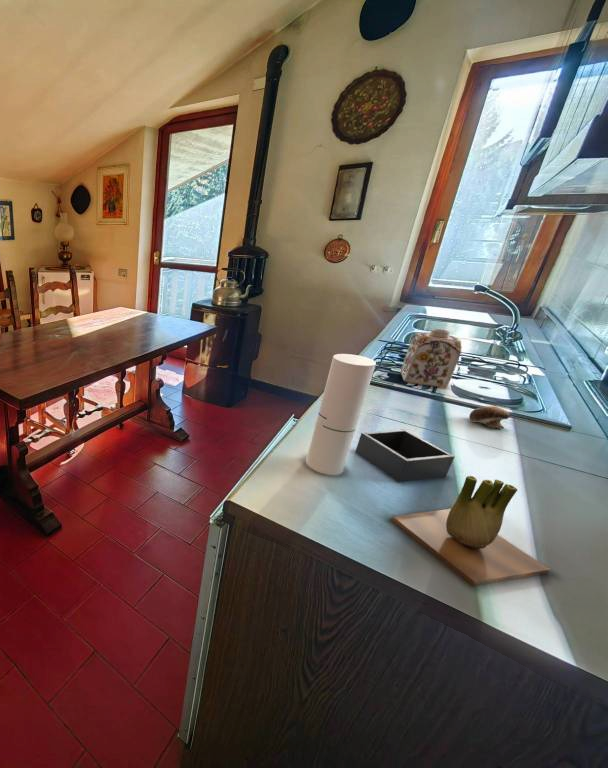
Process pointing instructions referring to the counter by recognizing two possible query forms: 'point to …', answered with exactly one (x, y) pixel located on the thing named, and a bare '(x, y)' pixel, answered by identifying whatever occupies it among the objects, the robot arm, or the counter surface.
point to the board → (469, 551)
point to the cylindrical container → (339, 412)
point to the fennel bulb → (479, 512)
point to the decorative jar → (431, 358)
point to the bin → (404, 455)
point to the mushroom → (489, 416)
